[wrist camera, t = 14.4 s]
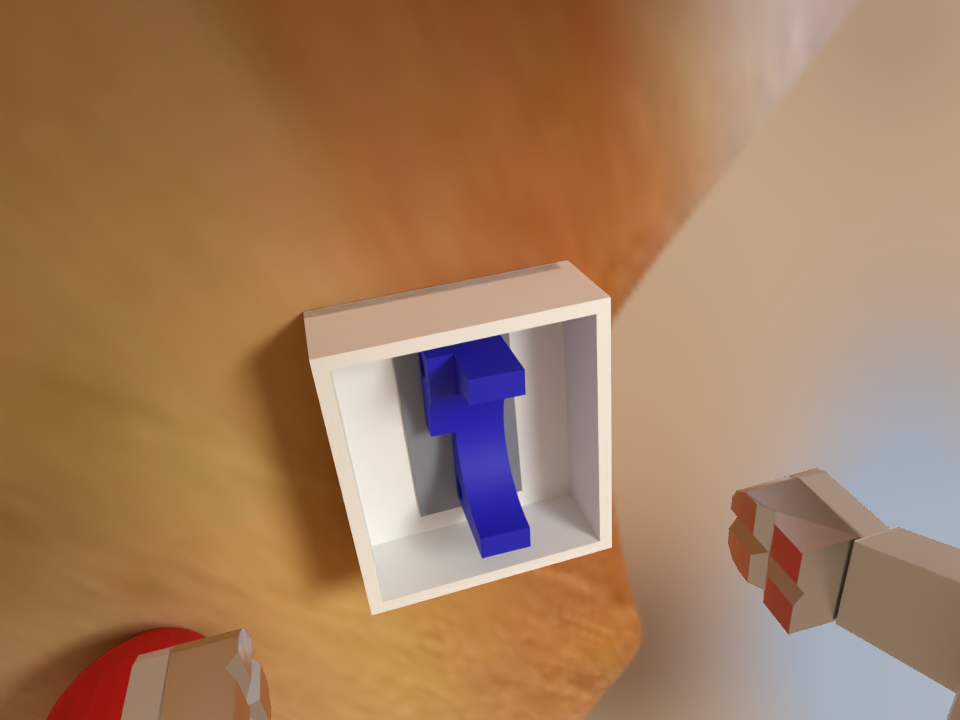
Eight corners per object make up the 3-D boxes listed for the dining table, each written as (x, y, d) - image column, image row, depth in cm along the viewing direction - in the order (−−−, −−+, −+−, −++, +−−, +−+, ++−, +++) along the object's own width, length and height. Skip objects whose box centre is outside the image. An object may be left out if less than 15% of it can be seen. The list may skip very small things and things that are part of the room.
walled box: (567, 260, 41) (610, 297, 36) (575, 490, 50) (611, 547, 44) (303, 311, 38) (309, 360, 33) (360, 547, 47) (372, 615, 42)
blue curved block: (415, 335, 39) (438, 385, 34) (491, 322, 40) (524, 369, 35) (435, 500, 45) (456, 564, 40) (501, 485, 46) (530, 546, 41)
